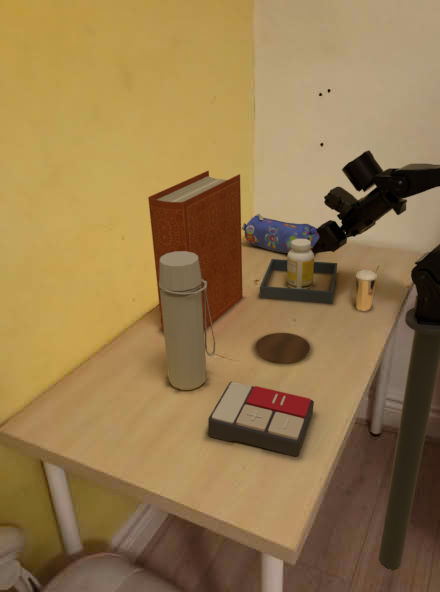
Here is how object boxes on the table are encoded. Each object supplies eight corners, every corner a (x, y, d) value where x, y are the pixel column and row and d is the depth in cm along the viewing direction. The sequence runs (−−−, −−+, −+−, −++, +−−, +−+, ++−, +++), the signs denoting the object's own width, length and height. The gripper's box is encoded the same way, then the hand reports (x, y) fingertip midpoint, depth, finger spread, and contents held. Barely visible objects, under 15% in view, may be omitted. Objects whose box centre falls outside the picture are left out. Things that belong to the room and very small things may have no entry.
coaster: (312, 337, 114) (312, 335, 113) (306, 366, 104) (306, 364, 104) (260, 332, 116) (260, 330, 116) (250, 360, 107) (250, 358, 107)
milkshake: (380, 309, 123) (385, 269, 118) (360, 313, 122) (364, 273, 117) (368, 300, 127) (372, 261, 122) (349, 305, 125) (352, 265, 121)
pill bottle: (316, 282, 136) (319, 239, 131) (306, 293, 132) (308, 248, 126) (293, 277, 140) (294, 235, 134) (282, 287, 135) (283, 244, 129)
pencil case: (241, 247, 159) (240, 216, 155) (257, 238, 165) (257, 208, 160) (307, 263, 147) (308, 230, 143) (322, 253, 153) (324, 221, 148)
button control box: (300, 439, 81) (207, 415, 86) (297, 460, 83) (207, 436, 88) (315, 396, 90) (230, 377, 95) (312, 416, 92) (229, 396, 97)
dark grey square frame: (336, 273, 141) (337, 262, 139) (332, 303, 126) (333, 292, 125) (271, 269, 145) (271, 258, 143) (259, 298, 130) (259, 286, 129)
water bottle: (172, 396, 98) (159, 270, 86) (165, 372, 104) (153, 252, 92) (221, 388, 99) (216, 263, 87) (211, 364, 106) (205, 245, 94)
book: (213, 291, 134) (207, 170, 120) (242, 297, 131) (240, 174, 116) (159, 333, 117) (144, 198, 103) (190, 342, 114) (179, 204, 99)
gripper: (368, 168, 122) (322, 207, 133) (327, 188, 109) (280, 229, 121) (397, 208, 121) (348, 243, 133) (359, 232, 109) (309, 269, 120)
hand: (322, 245), depth 127 cm, fingers open, 9 cm apart
